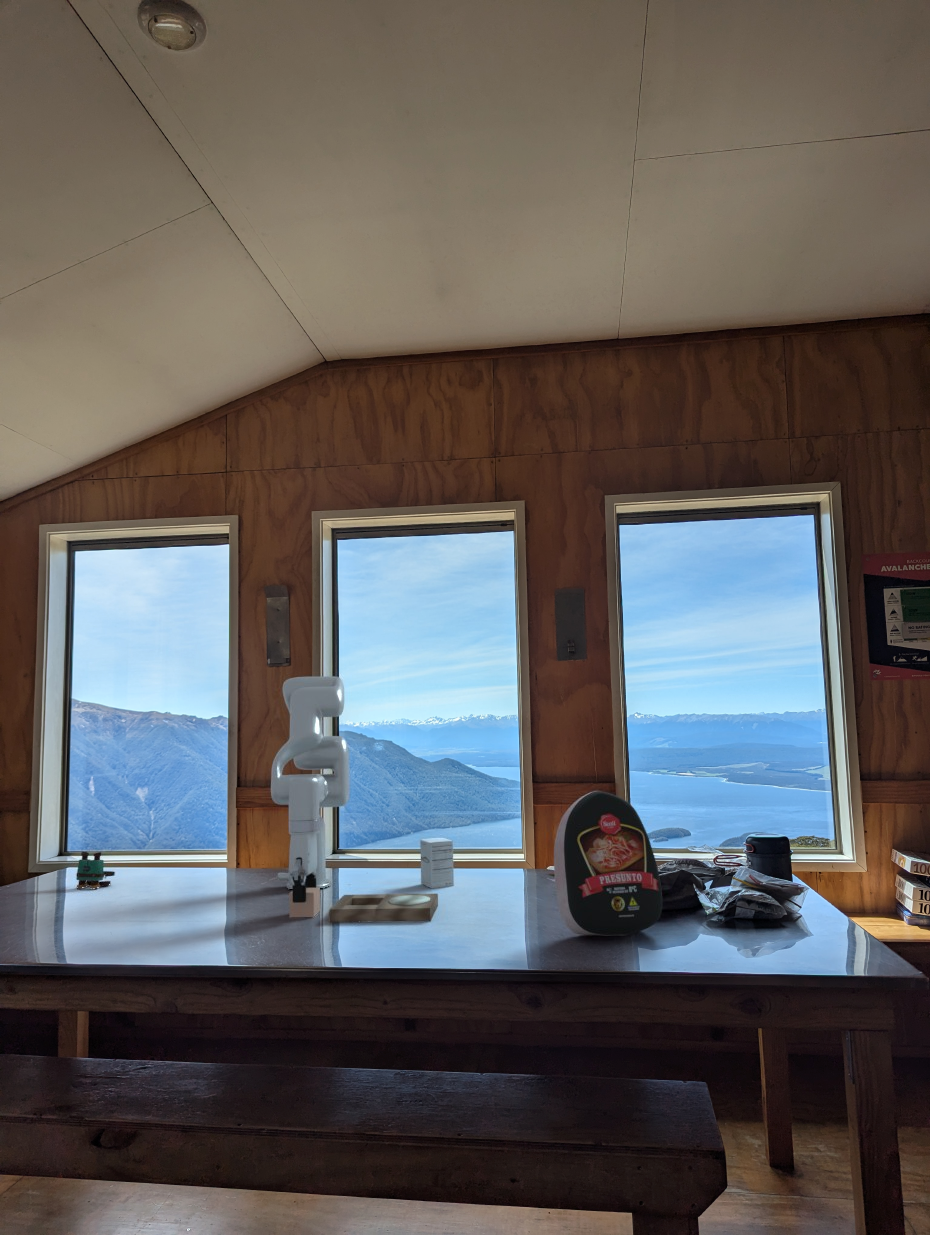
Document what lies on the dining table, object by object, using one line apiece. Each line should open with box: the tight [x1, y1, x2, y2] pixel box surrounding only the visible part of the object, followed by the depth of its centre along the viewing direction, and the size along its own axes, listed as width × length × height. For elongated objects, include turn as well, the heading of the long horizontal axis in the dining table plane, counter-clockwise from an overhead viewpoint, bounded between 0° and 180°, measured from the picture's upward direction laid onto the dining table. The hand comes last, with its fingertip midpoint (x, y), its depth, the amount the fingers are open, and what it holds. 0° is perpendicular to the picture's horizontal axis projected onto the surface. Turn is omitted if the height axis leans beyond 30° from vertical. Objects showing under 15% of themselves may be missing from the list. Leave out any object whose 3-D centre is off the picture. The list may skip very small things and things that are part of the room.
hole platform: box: [328, 893, 439, 923], centre depth 207 cm, size 24×16×3 cm, turn 86°
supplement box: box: [419, 836, 455, 889], centre depth 241 cm, size 7×7×13 cm
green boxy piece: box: [75, 851, 116, 889], centre depth 253 cm, size 9×11×10 cm
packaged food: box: [553, 790, 663, 937], centre depth 184 cm, size 22×20×30 cm
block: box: [288, 888, 321, 918], centre depth 209 cm, size 6×6×6 cm
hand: (304, 898), depth 208 cm, fingers open, 9 cm apart
